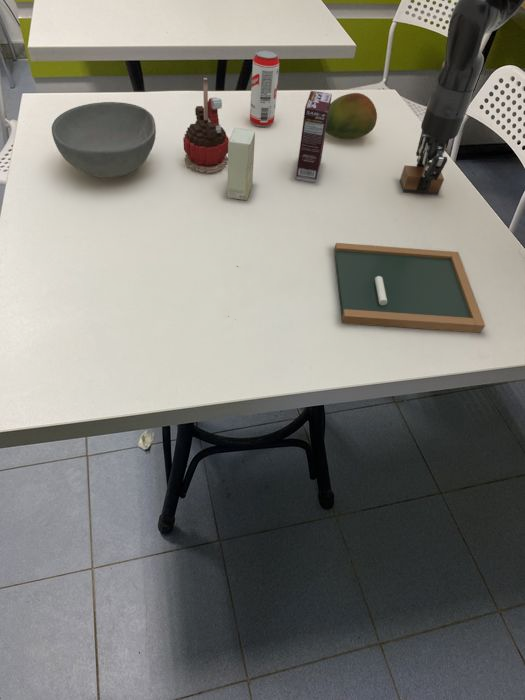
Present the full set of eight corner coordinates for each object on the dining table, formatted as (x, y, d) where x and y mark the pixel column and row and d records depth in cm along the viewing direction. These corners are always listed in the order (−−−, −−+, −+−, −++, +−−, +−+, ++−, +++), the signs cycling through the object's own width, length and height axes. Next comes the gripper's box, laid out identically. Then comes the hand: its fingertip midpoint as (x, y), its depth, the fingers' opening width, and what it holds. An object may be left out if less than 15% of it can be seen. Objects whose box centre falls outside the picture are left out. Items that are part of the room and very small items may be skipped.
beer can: (251, 128, 123) (256, 58, 110) (247, 116, 127) (250, 47, 114) (276, 128, 124) (283, 58, 112) (271, 116, 128) (277, 48, 116)
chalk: (382, 281, 87) (383, 275, 86) (386, 305, 84) (387, 299, 82) (374, 282, 87) (374, 276, 86) (378, 305, 84) (379, 300, 83)
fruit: (378, 142, 123) (389, 102, 115) (338, 153, 118) (347, 111, 111) (349, 122, 129) (358, 82, 121) (311, 131, 124) (317, 90, 117)
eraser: (433, 184, 112) (439, 168, 109) (437, 195, 110) (444, 179, 106) (399, 181, 112) (404, 165, 109) (402, 192, 109) (408, 176, 106)
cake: (179, 154, 112) (174, 69, 98) (218, 149, 115) (219, 66, 101) (193, 179, 106) (190, 92, 92) (233, 173, 109) (237, 88, 95)
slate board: (454, 259, 95) (458, 251, 94) (480, 332, 83) (485, 325, 82) (334, 250, 94) (335, 242, 93) (342, 323, 82) (344, 315, 80)
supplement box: (300, 160, 115) (310, 89, 102) (320, 164, 114) (333, 93, 102) (294, 180, 109) (304, 107, 97) (315, 183, 109) (328, 111, 97)
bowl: (57, 149, 110) (45, 103, 102) (149, 140, 115) (144, 96, 107) (67, 200, 98) (55, 152, 90) (168, 187, 103) (165, 141, 96)
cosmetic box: (246, 201, 102) (250, 145, 93) (226, 197, 103) (227, 141, 93) (252, 185, 106) (256, 130, 97) (232, 181, 107) (234, 126, 97)
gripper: (474, 127, 93) (442, 205, 106) (457, 94, 102) (429, 170, 115) (435, 123, 93) (408, 202, 106) (421, 91, 102) (397, 167, 115)
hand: (419, 185), depth 110 cm, fingers closed on eraser, 4 cm apart
